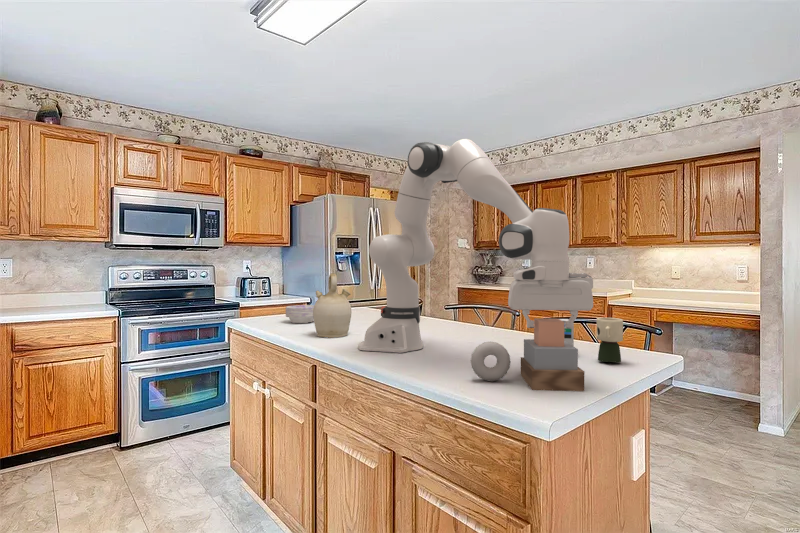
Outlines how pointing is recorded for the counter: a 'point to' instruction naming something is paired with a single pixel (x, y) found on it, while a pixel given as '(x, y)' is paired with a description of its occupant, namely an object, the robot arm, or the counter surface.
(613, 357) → the character mug
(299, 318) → the paper bowls
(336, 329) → the jug
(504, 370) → the donut
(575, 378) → the walnut base block
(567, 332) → the light bulb box
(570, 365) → the grey top block
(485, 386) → the counter surface
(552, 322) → the terracotta cube
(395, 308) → the robot arm
